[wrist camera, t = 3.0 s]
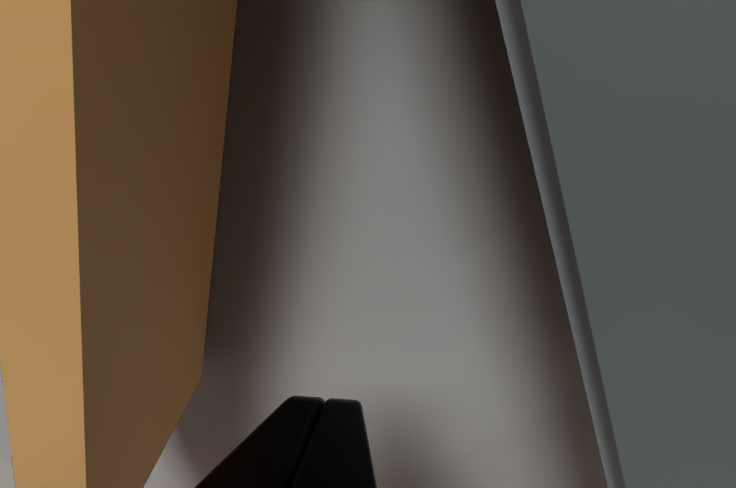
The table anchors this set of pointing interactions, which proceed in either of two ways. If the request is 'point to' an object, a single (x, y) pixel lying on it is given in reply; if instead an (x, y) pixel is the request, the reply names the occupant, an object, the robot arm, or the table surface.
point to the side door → (106, 227)
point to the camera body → (640, 219)
